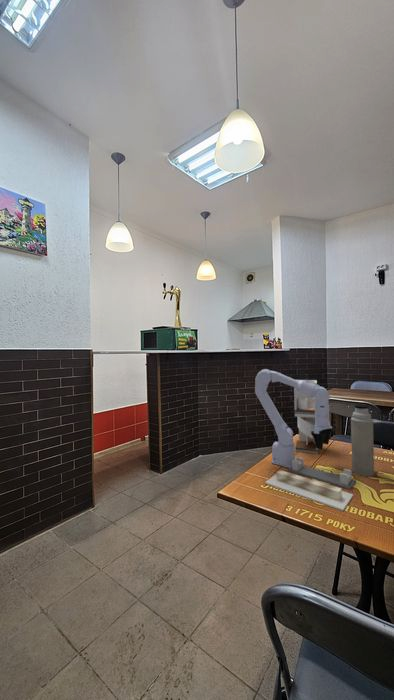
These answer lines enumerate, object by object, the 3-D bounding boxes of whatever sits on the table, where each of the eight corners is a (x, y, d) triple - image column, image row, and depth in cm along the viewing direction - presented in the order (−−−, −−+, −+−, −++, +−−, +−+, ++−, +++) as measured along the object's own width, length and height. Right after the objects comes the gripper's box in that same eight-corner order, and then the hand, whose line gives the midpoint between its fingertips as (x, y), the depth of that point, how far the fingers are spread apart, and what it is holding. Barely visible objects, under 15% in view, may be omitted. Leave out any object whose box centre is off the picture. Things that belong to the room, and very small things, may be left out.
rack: (288, 471, 119) (287, 460, 119) (295, 465, 125) (295, 455, 125) (350, 489, 102) (349, 477, 102) (355, 481, 108) (355, 470, 108)
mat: (265, 483, 108) (264, 482, 108) (279, 473, 117) (279, 471, 117) (343, 511, 89) (343, 509, 89) (353, 496, 98) (353, 494, 98)
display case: (297, 444, 151) (295, 379, 151) (318, 446, 147) (316, 380, 147) (295, 451, 141) (294, 382, 141) (318, 454, 137) (316, 383, 137)
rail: (276, 480, 110) (276, 472, 110) (279, 477, 112) (279, 469, 112) (339, 500, 94) (338, 491, 94) (341, 497, 96) (341, 488, 96)
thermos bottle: (374, 470, 117) (372, 404, 117) (374, 478, 111) (372, 408, 111) (352, 466, 122) (351, 402, 122) (351, 473, 115) (350, 406, 115)
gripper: (325, 420, 113) (326, 453, 113) (336, 413, 124) (337, 443, 124) (308, 417, 118) (309, 449, 118) (320, 411, 129) (321, 440, 129)
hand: (322, 446), depth 121 cm, fingers open, 7 cm apart
